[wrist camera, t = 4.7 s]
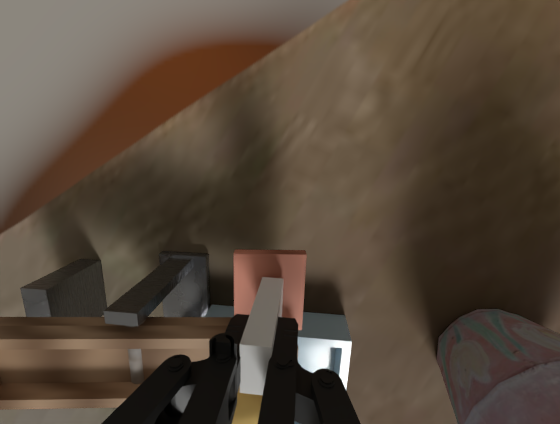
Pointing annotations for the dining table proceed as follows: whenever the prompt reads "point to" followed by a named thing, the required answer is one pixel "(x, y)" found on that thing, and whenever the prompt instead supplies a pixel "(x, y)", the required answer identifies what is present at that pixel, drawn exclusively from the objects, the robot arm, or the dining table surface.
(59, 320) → the brown wooden trough
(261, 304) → the robot arm
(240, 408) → the ball
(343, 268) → the dining table surface
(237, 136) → the dining table surface
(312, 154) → the dining table surface
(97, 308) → the block
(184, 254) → the fulcrum
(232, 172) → the dining table surface
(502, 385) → the potted plant
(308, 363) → the dish
